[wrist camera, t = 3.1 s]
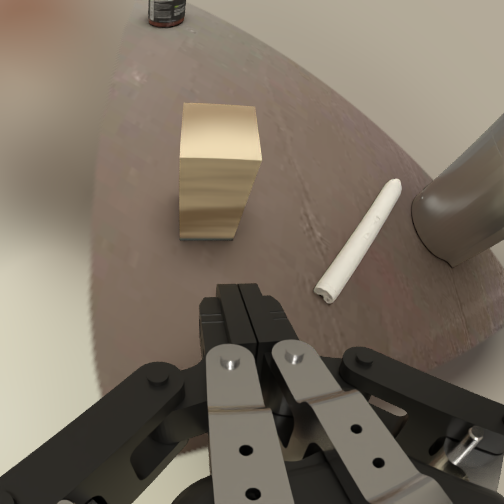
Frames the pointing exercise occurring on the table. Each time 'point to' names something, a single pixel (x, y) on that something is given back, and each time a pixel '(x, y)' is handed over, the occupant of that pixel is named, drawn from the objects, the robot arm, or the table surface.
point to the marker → (358, 243)
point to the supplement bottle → (166, 12)
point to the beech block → (216, 168)
